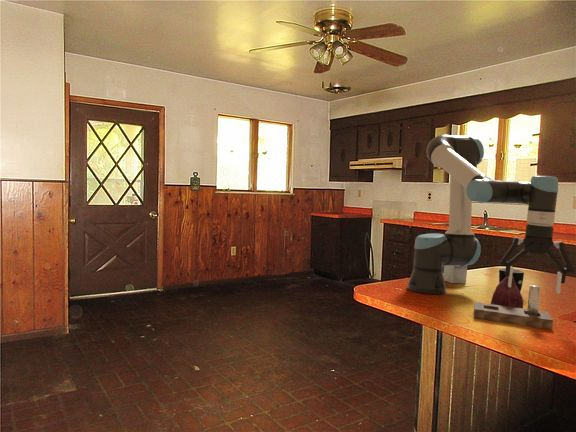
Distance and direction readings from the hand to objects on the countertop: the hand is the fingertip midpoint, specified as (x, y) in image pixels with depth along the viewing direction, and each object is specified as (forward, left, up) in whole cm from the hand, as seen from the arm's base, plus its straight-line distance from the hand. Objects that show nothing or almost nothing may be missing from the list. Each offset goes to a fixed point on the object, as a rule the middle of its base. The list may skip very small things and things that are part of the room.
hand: (533, 289), depth 136 cm
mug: (-3, +40, -11) cm, 41 cm away
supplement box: (-25, +51, -11) cm, 58 cm away
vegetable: (-6, +13, -11) cm, 18 cm away
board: (-6, 0, -11) cm, 12 cm away
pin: (0, -1, -11) cm, 11 cm away
